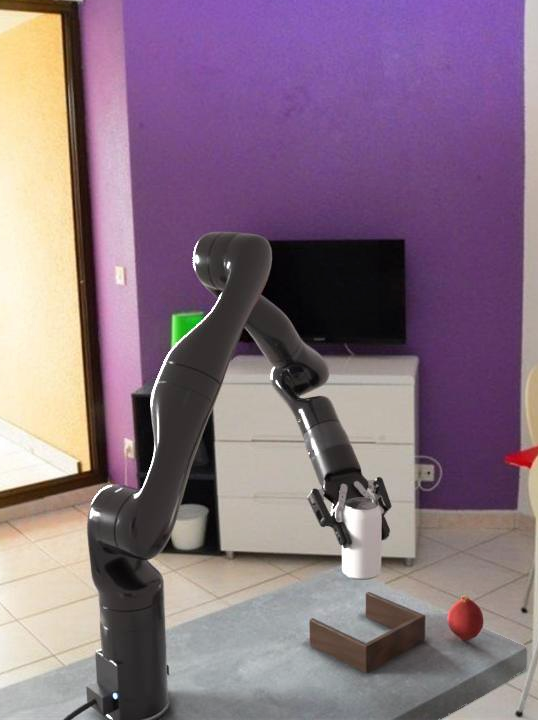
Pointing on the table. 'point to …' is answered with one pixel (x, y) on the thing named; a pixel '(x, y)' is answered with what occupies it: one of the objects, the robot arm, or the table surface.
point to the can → (362, 538)
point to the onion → (465, 619)
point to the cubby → (379, 650)
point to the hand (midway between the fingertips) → (367, 541)
